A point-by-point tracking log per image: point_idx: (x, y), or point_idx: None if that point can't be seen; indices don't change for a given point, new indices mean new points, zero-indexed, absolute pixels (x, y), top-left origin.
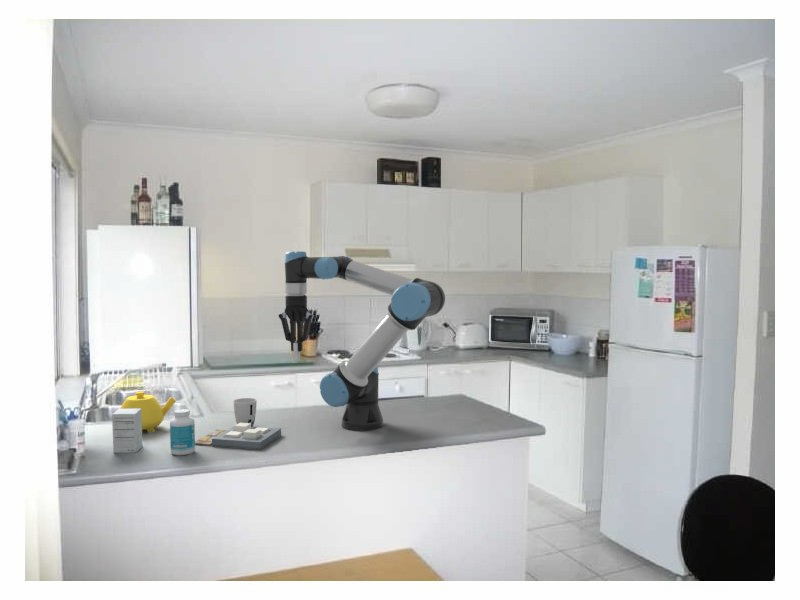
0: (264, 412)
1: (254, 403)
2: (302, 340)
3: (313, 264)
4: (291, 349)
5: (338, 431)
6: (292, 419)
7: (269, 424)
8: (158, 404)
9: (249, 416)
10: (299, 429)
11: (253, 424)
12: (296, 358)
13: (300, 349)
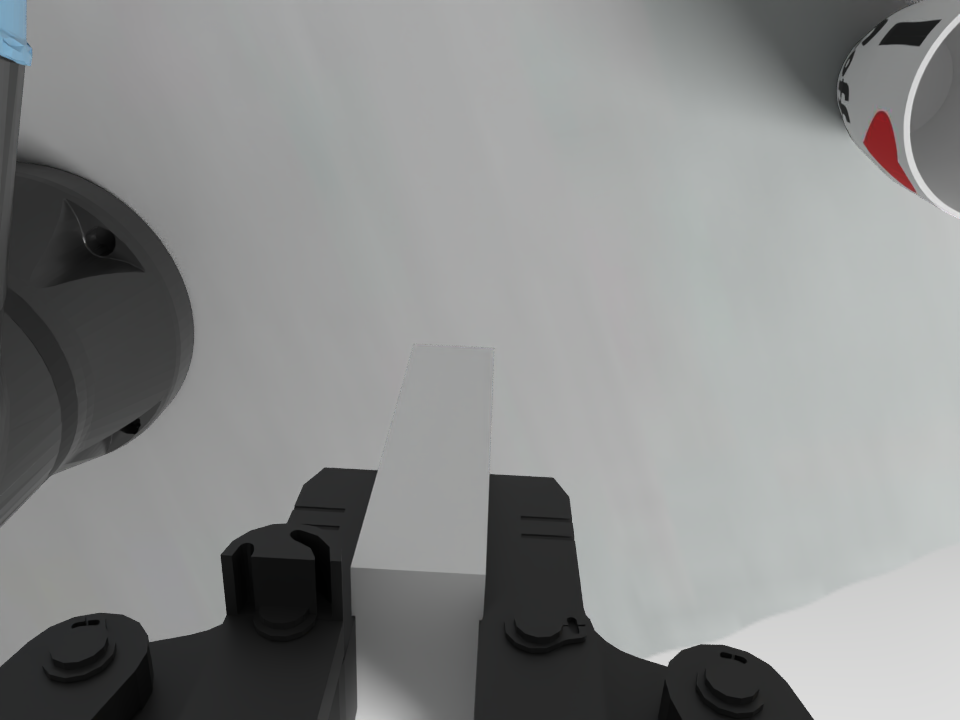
0: (846, 518)
1: (905, 78)
2: (138, 629)
3: None
4: (557, 503)
5: (140, 121)
6: (593, 379)
7: (726, 218)
8: None
9: (895, 21)
10: (450, 120)
11: (838, 93)
12: (427, 364)
13: (314, 494)
